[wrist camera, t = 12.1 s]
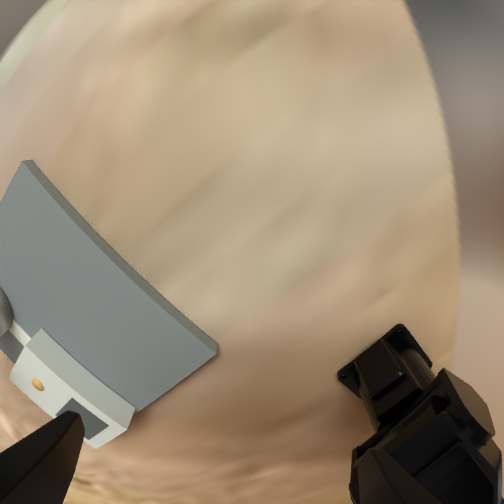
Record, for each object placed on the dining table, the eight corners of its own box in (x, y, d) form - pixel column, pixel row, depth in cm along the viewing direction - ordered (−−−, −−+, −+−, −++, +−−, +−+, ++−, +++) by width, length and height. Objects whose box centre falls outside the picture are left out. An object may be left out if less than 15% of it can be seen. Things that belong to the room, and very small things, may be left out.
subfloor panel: (218, 343, 22) (216, 355, 20) (105, 428, 25) (101, 437, 24) (31, 159, 17) (20, 161, 16) (-30, 299, 21) (-38, 305, 20)
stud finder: (135, 407, 22) (126, 431, 20) (104, 430, 23) (95, 450, 21) (41, 328, 20) (24, 346, 17) (22, 361, 21) (7, 378, 19)
